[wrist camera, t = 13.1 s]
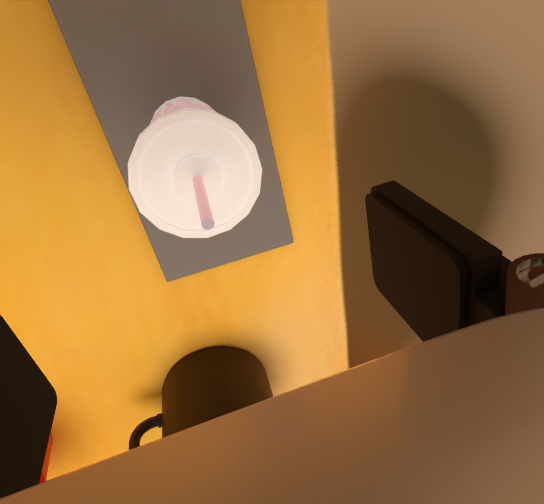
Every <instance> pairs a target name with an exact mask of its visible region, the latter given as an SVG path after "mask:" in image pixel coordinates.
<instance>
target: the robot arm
mask: <svg viewBox="0 0 544 504" xmlns="http://www.w3.org/2000/svg"><path fill="white" fill-rule="evenodd" d="M365 201H366V211H367V220H368V230H369V240H370V249H371V258H372V267H373V277H374V281H375V284H376V286H377V288H378V290H379V291H380V292H381V293H382V295H383V296H384V297H385V298H386V299H387V300H388V302H390V304H391V305H392V306H393V307H394V309H395V310H396V311H397V312H398V313H399V314H400V315H401V317H402V318H403V319H404V320H405V321H406V322H407V324H408V325H409V326H410V327H411V328H412V329H413V330H414V332H415V333H416V334H417V335H418V336H419V338H420V339H421V340H422V341H423V342H422V343H419V344H416V345H414V346H411V347H408V348H405V349H402V350H400V351H397V352H394V353H392V354H389V355H386V356H383V357H380V358H378V359H375V360H372V361H370V362H367V363H364V364H362V365H358V366H356V367H353V368H350V369H347V370H345V371H342V372H339V373H337V374H334V375H331V376H328V377H326V378H323V379H320V380H317V381H315V382H312V383H309V384H307V385H304V386H301V387H299V388H296V389H293V390H290V391H288V392H285V393H282V394H280V395H277V396H274V397H272V398H269V399H266V400H263V401H261V402H258V403H255V404H253V405H250V406H247V407H245V408H242V409H239V410H236V411H234V412H231V413H228V414H226V415H223V416H220V417H218V418H215V419H212V420H209V421H207V422H204V423H201V424H199V425H196V426H193V427H191V428H188V429H185V430H182V431H180V432H177V433H174V434H172V435H169V436H166V437H164V438H161V439H158V440H155V441H153V442H150V443H147V444H145V445H142V446H139V447H137V448H134V449H131V450H128V451H126V452H123V453H120V454H118V455H115V456H112V457H110V458H107V459H104V460H101V461H99V462H96V463H93V464H91V465H88V466H85V467H83V468H80V469H77V470H75V471H72V472H69V473H67V474H64V475H61V476H59V477H56V478H53V479H51V480H48V481H45V482H43V483H40V484H39V482H40V477H41V473H42V468H43V464H44V459H45V455H46V450H47V446H48V441H49V437H50V432H51V428H52V423H53V419H54V414H55V410H56V405H57V396H56V392H55V390H54V388H53V386H52V385H51V384H50V382H49V381H48V379H47V378H46V377H45V375H44V374H43V373H42V371H41V370H40V368H39V367H38V366H37V364H36V363H35V361H34V360H33V359H32V357H31V356H30V355H29V353H28V352H27V350H26V349H25V348H24V346H23V345H22V343H21V342H20V341H19V339H18V338H17V337H16V335H15V334H14V332H13V331H12V330H11V328H10V327H9V325H8V324H7V323H6V321H5V320H4V319H3V317H2V316H1V315H0V504H544V253H534V254H529V255H524V256H521V257H519V258H517V259H515V260H514V261H513V262H511V261H510V260H508V259H507V258H505V257H504V256H502V251H501V250H499V249H498V248H496V247H495V246H493V245H491V244H490V243H489V242H487V241H486V240H484V239H482V238H481V237H480V236H478V235H477V234H475V233H474V232H472V231H470V230H469V229H467V228H466V227H464V226H463V225H461V224H460V223H458V222H457V221H455V220H454V219H452V218H451V217H449V216H448V215H446V214H444V213H443V212H441V211H440V210H438V209H437V208H435V207H434V206H432V205H431V204H429V203H428V202H426V201H425V200H423V199H422V198H420V197H419V196H417V195H416V194H414V193H412V192H411V191H409V190H408V189H406V188H405V187H403V186H402V185H400V184H399V183H397V182H396V181H390V182H387V183H383V184H380V185H378V186H374V187H372V189H371V192H370V194H367V195H366V198H365Z"/></svg>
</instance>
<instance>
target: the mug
mask: <svg viewBox="0 0 544 504" xmlns="http://www.w3.org/2000/svg"><path fill="white" fill-rule="evenodd" d="M272 397H273V394H272V391H271V388H270V384H269V381H268V378H267V374H266V371H265V369H264V367H263V365H262V364H261V363H260V362H259V361H258V360H257V359H256V358H255V357H254V356H252V355H251V354H249V353H247V352H245V351H243V350H240V349H236V348H231V347H215V348H209V349H204V350H201V351H198V352H196V353H193V354H191V355H189V356H188V357H186V358H184V359H183V360H181V361H180V362H179V363H178V364H177V365H176V366H175V367H174V368H173V369H172V370H171V372H170V373H169V375H168V376H167V378H166V380H165V382H164V385H163V389H162V413H161V414H157V416H154V417H151V418H148V419H146V420H145V421H143V422H142V423H140V424H139V425H138V426H137V427H136V428H135V430H134V431H133V432H132V434H131V437H130V440H129V450H131V449H134V448H137V447H139V446H140V439H141V437H142V436H143V434H144V433H145V432H147V431H148V430H150V429H152V428H154V427H157V426H158V427H162V438H164V437H166V436H169V435H172V434H174V433H177V432H180V431H182V430H185V429H188V428H191V427H193V426H196V425H199V424H201V423H204V422H207V421H209V420H212V419H215V418H218V417H220V416H223V415H226V414H228V413H231V412H234V411H236V410H239V409H242V408H245V407H247V406H250V405H253V404H255V403H258V402H261V401H263V400H266V399H269V398H272Z"/></svg>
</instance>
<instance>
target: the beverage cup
mask: <svg viewBox="0 0 544 504" xmlns="http://www.w3.org/2000/svg"><path fill="white" fill-rule="evenodd" d="M261 177H262V167H261V163H260V160H259V157H258V153H257V150H256V147H255V144H254V143H253V142H252V141H251V140H250V138H249V137H248V136H247V135H246V134H245V133H244V131H243V130H242V129H241V128H240V127H239V125H238V124H237V123H235V122H234V121H232V120H230V119H228V118H227V117H225V116H223V115H221V114H219V113H217V112H216V111H214V110H213V109H212V108H211V107H210V106H209V105H208V104H206V103H204V102H202V101H200V100H198V99H196V98H191V97H177V98H174V99H171V100H168V101H166V102H165V103H164V104H162V105H161V106H160V107H159V108H158V109H157V110H156V111H155V113H154V115H153V118H152V120H151V123H150V125H149V126H148V127H147V128H146V129H145V130H144V131H143V132H142V133H140V134H139V136H138V139H137V141H136V143H135V146H134V148H133V151H132V153H131V156H130V158H129V161H128V181H129V191H130V193H131V195H132V197H133V199H134V201H135V203H136V205H137V207H138V209H139V211H140V213H141V214H142V215H144V216H145V217H146V218H147V219H148V220H149V221H150V222H152V223H153V224H154V225H155V226H156V227H157V228H158V229H160V230H163V231H165V232H168V233H171V234H174V235H176V236H179V237H182V238H209V237H212V236H214V235H217V234H220V233H223V232H225V231H228V230H231V229H232V228H233V227H234V226H235V225H236V224H238V223H239V222H240V221H241V220H242V219H243V218H245V217H246V216H247V215H248V214H249V212H250V210H251V209H252V207H253V205H254V203H255V201H256V199H257V197H258V196H259V194H260V186H261Z"/></svg>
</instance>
